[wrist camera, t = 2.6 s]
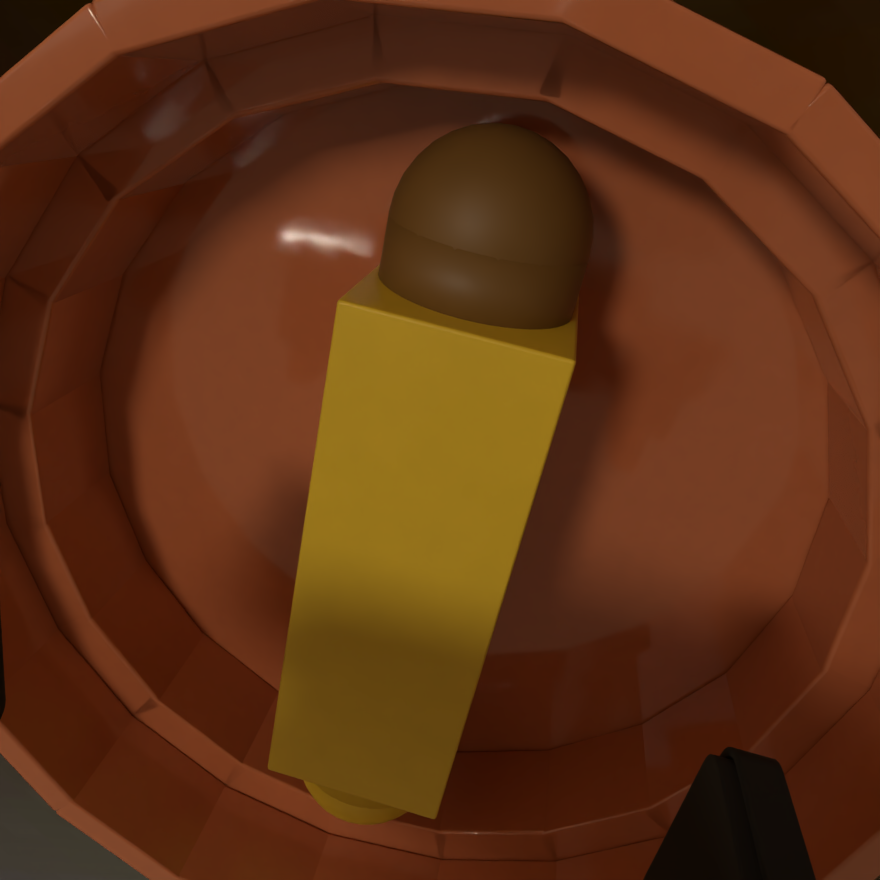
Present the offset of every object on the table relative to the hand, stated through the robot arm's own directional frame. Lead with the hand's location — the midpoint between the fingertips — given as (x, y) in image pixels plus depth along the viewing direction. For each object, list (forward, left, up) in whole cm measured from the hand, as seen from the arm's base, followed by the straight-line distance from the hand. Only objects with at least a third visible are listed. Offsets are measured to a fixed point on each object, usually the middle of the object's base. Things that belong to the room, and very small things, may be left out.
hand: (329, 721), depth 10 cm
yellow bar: (0, 0, -6) cm, 6 cm away
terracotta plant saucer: (0, 0, -7) cm, 7 cm away
